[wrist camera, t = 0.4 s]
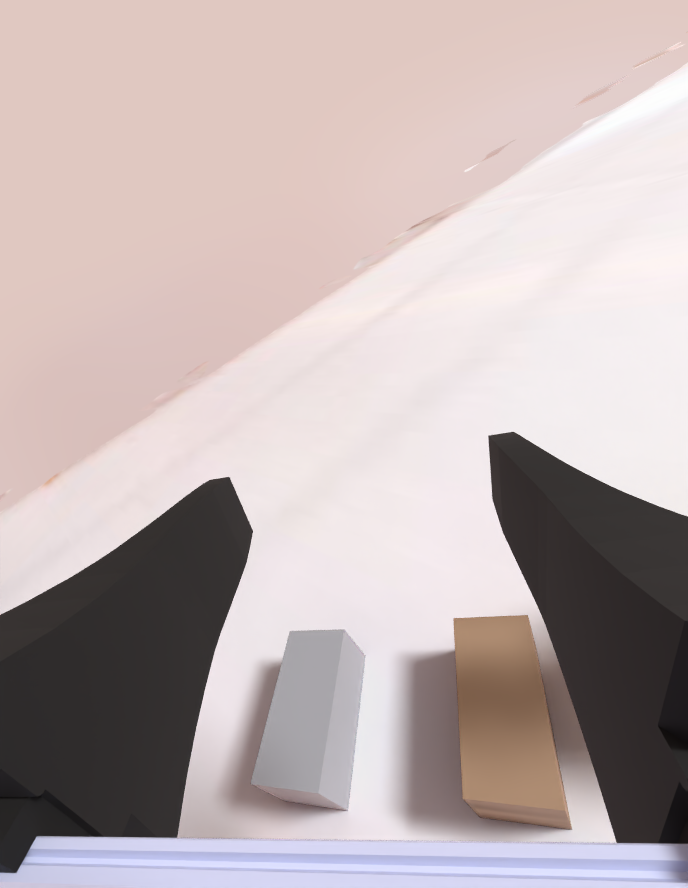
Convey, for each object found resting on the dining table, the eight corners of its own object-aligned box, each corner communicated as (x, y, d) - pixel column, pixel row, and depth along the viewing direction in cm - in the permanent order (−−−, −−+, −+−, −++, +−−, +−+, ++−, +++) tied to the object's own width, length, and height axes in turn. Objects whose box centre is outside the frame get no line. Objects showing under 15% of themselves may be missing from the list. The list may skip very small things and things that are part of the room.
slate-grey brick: (349, 811, 22) (318, 793, 20) (285, 801, 23) (250, 784, 21) (366, 656, 28) (344, 629, 25) (315, 657, 29) (289, 631, 27)
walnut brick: (572, 830, 18) (565, 810, 16) (480, 818, 20) (462, 798, 17) (536, 648, 24) (527, 615, 22) (468, 649, 26) (453, 618, 23)
